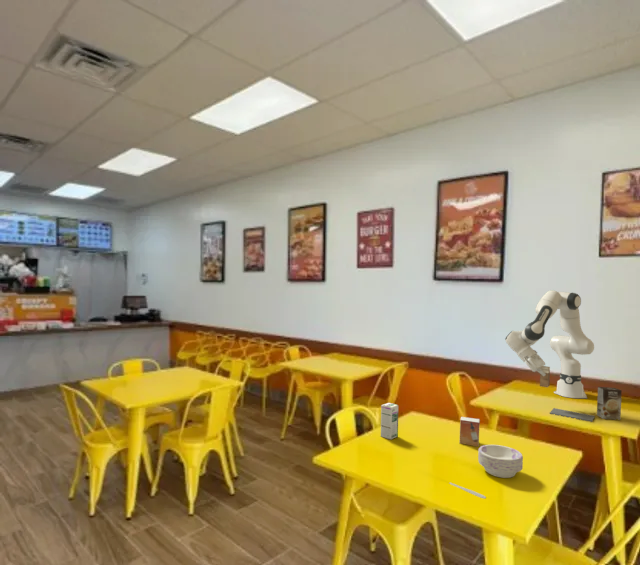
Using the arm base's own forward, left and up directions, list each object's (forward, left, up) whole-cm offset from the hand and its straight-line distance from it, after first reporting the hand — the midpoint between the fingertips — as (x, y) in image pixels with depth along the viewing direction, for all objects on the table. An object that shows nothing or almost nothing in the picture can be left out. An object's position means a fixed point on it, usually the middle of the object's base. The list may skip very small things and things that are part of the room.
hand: (546, 374), depth 241 cm
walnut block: (0, -1, -7) cm, 7 cm away
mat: (0, +13, -20) cm, 24 cm away
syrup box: (+101, -45, -21) cm, 112 cm away
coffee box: (-10, +29, -21) cm, 37 cm away
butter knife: (+126, -7, -21) cm, 128 cm away
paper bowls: (+105, +4, -21) cm, 107 cm away
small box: (+83, -15, -21) cm, 87 cm away
